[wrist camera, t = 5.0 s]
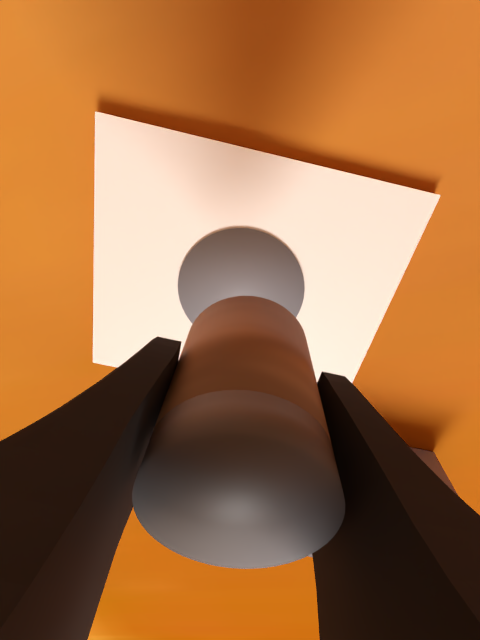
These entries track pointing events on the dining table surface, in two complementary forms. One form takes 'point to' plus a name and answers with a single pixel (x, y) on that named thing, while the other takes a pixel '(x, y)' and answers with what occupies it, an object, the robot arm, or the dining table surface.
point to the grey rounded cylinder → (241, 445)
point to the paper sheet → (241, 241)
